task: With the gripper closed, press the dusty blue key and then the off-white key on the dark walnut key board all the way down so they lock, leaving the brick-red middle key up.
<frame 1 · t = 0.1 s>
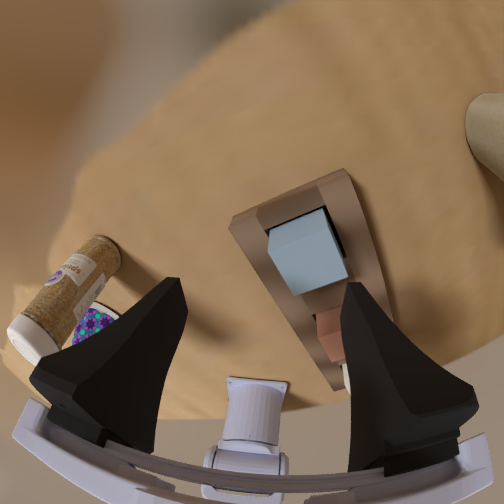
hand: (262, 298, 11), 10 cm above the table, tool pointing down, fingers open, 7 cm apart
blue key: (308, 252, 18), point 3 cm above the table, slide at 0.0 cm
white key: (364, 376, 26), point 3 cm above the table, slide at 0.0 cm
key board: (340, 307, 25), on the table
purple domed brimmed piece: (106, 327, 32), on the table
brick key: (345, 331, 22), point 3 cm above the table, slide at 0.0 cm
sprinkles bottle: (105, 251, 25), on the table
flower pot: (487, 130, 14), on the table
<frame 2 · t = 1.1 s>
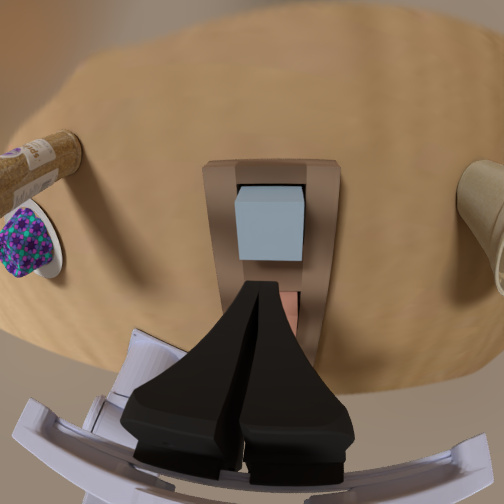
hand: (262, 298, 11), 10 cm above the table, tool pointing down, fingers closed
blue key: (271, 222, 18), point 3 cm above the table, slide at 0.0 cm
key board: (274, 295, 25), on the table
purple domed brimmed piece: (34, 234, 26), on the table
brick key: (272, 319, 22), point 3 cm above the table, slide at 0.0 cm
sprinkles bottle: (67, 151, 19), on the table
flower pot: (478, 192, 17), on the table
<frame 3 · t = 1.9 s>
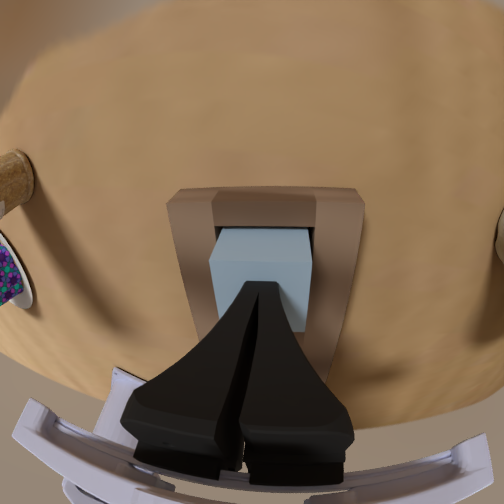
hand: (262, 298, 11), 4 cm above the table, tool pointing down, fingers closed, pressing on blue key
blue key: (263, 279, 13), point 3 cm above the table, slide at 0.2 cm, touching gripper
key board: (269, 348, 20), on the table
purple domed brimmed piece: (4, 262, 20), on the table
sprinkles bottle: (21, 174, 14), on the table
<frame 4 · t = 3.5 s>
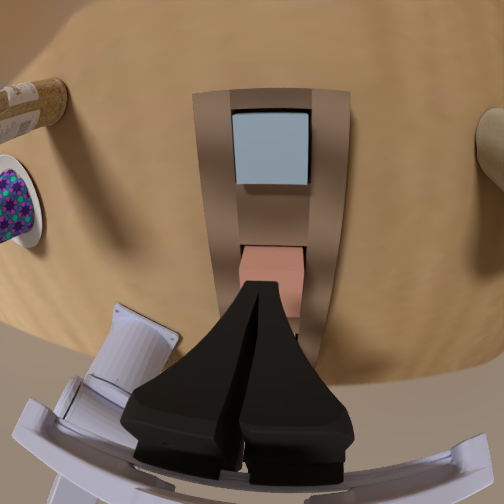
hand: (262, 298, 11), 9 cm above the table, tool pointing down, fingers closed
blue key: (272, 145, 15), point 2 cm above the table, slide at 1.4 cm
key board: (274, 257, 21), on the table
purple domed brimmed piece: (17, 200, 22), on the table
brick key: (272, 281, 19), point 3 cm above the table, slide at 0.0 cm
sprinkles bottle: (53, 101, 16), on the table
flower pot: (496, 144, 13), on the table
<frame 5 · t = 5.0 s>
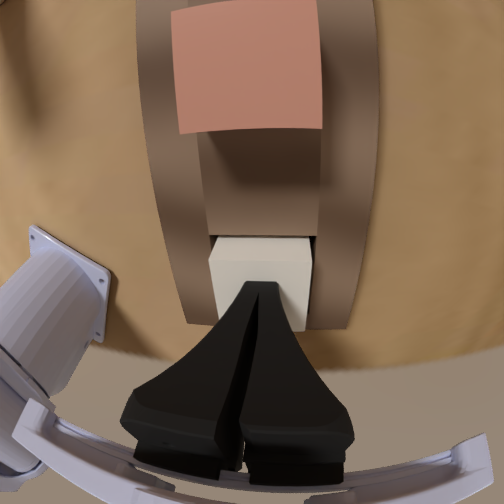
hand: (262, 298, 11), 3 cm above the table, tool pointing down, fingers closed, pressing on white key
white key: (263, 278, 13), point 2 cm above the table, slide at 1.0 cm, touching gripper
key board: (259, 74, 10), on the table
brick key: (250, 66, 7), point 3 cm above the table, slide at 0.0 cm
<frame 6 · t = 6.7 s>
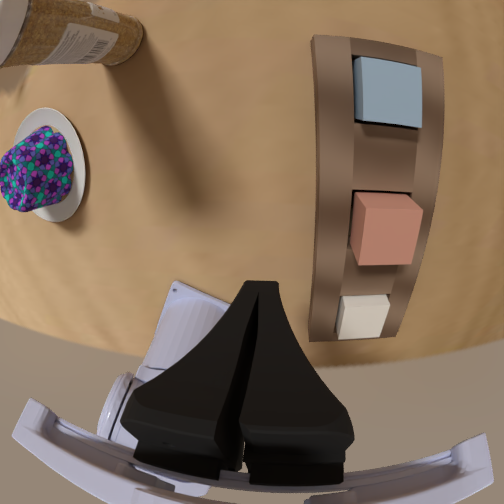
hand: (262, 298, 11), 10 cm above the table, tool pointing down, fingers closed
blue key: (385, 92, 13), point 2 cm above the table, slide at 1.4 cm
white key: (360, 311, 23), point 2 cm above the table, slide at 1.4 cm
key board: (372, 210, 19), on the table
purple domed brimmed piece: (49, 164, 20), on the table
brick key: (384, 228, 17), point 3 cm above the table, slide at 0.0 cm
sprinkles bottle: (120, 41, 14), on the table
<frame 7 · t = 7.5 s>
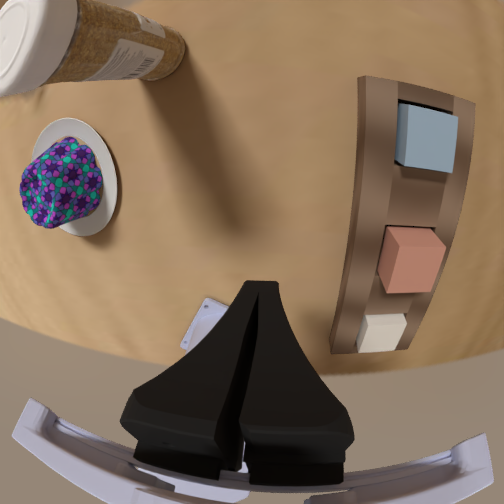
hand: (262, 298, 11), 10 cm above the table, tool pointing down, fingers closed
blue key: (423, 136, 14), point 2 cm above the table, slide at 1.4 cm
white key: (379, 328, 24), point 2 cm above the table, slide at 1.4 cm
key board: (397, 239, 20), on the table
purple domed brimmed piece: (73, 176, 21), on the table
brick key: (410, 259, 18), point 3 cm above the table, slide at 0.0 cm
sprinkles bottle: (158, 54, 15), on the table
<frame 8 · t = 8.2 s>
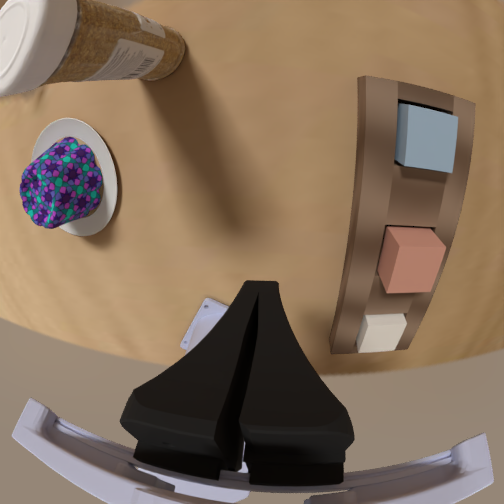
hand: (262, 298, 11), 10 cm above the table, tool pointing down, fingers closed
blue key: (423, 136, 14), point 2 cm above the table, slide at 1.4 cm
white key: (379, 328, 24), point 2 cm above the table, slide at 1.4 cm
key board: (397, 239, 20), on the table
purple domed brimmed piece: (73, 176, 21), on the table
brick key: (410, 259, 18), point 3 cm above the table, slide at 0.0 cm
sprinkles bottle: (158, 54, 15), on the table
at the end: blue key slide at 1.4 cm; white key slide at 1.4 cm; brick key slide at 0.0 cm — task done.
